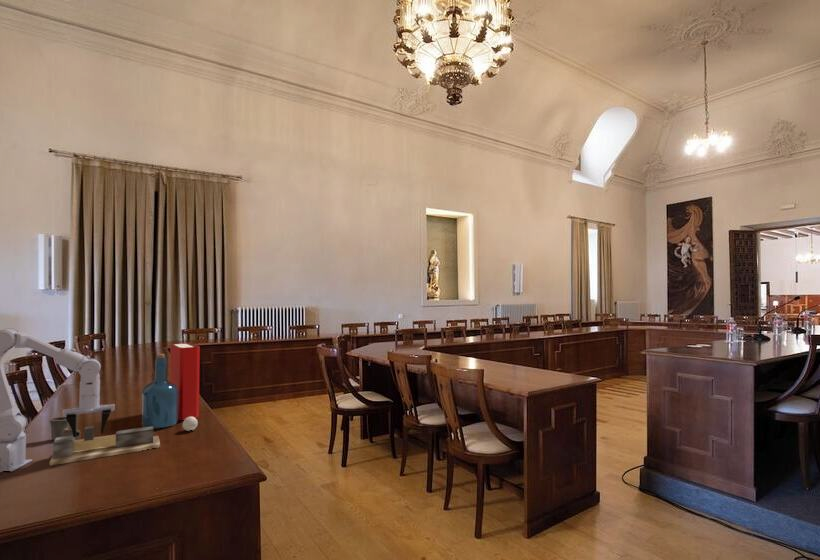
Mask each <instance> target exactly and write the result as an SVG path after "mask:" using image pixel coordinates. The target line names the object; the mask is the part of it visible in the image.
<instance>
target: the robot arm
mask: <svg viewBox="0 0 820 560" xmlns="http://www.w3.org/2000/svg"><path fill="white" fill-rule="evenodd" d="M12 348H15V349H20V348H21V349H23V348H26V349H27V348H28V349H31V350H33V351H36V352H38V353H40V354H43V355H46V356H49V357H50V358H53V359H54V361H55V362H54V363H55V364H56V365H59V366H61V367H64V368H66V369H68V370H70V371H73V372H78V374H79V375H80V382H79V395H78V396H79V403H78V407H73V408H67V409H62V416H61V417H66V420H67V421H68V423H69V428H70V430H72V432H73V437H76V434H77V430H78V429H77V416H78V415H84V414H92V413H101V412H102V413H101V425H100V426H101V428H100V434H104V432H105V426H106V423H107V421H108V419H109V417H110V415H111V413H112V412H114V411H115V408H116V407H115V406H116V404H115V403H111V404H100V401H101V399H100V394H101V392H100V391H101V379H100V377H101V375H100V371H101V367H102V365H101V363H100V361H98V360H97V359H96V358H91V356H90V355H84V354H82V353H79V352H77V349H75V348H68V347H66V348H62V349H61V348H59V347H56V346H55V345H52V344H51V343H49V342H47V341H44V340H43V339H41V338H39V337H36V336H34V335H32V334H29V333H27V332H24V331H19V330H17V329H15V328H11V327H8V328H3V329H0V471H10V472H15V471H16V470H18V469H20V468H22V467H24V466H25V465H28V464H29V463H30V462H33V459H27V458H26V453H27V451H26V450H27V449H26V448H27V433H25V431H24V429H26V427H27V426H28V419H27V418H26V417H25V416H24V415H23V414H22V413H21V411H20V409H19V408H18V406H17V405H16V402H15V398H14V397H13V396H14V395H13V393H12V389H11V387H10V385H9V381H8V379H7V375H6V372H5V369H4V366H3V364H2V361H1V359H3V357H4V356H5V355H6V354H7V352H9V350H11V349H12ZM10 472H9V473H10Z"/></svg>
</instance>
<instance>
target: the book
mask: <svg viewBox="0 0 820 560" xmlns="http://www.w3.org/2000/svg"><path fill="white" fill-rule="evenodd" d="M169 346H170V348H169V349H170V351H169V354H170V355H169V382H170V383H173V384H174V385H175V386H176V387H177V389H178V419H179V420H185V419H186V418H187V417H191V416H192V417H195V418H197V417H199V418H200V367H201V366H200V364H201V362H200V360H201V359H200V357H201V356H200V354H201V347H200V345H197V344H195V343H193V342H190V341H188V342H186V343H175V344H174V343H170V345H169ZM179 420H178V421H179Z"/></svg>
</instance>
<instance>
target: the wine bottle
mask: <svg viewBox="0 0 820 560" xmlns="http://www.w3.org/2000/svg"><path fill="white" fill-rule="evenodd" d="M167 365H168V363H167V356H165V353H159V354H157V357H156V359H155V364H154V366H155V370H154V371H155V372H154V374H155V375H154V380H152V381H151V382H149V383H148V384H146V385H145V386H144V387H143V388H142V390H141V394H142V405H141V407H142V409H141V411H142V412H141V413H142V414H141V421H142V422H141V425H142V428H143V427H150V426H153V429H154V430H159V429H160V428H161V429H166V427H167V428H170V427H172V426H175V425H177V424H178V421H179V420H178V389H177V387H176V386H175V385H174V384H173V383H170V381H168V377H167ZM169 426H170V427H169Z"/></svg>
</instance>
